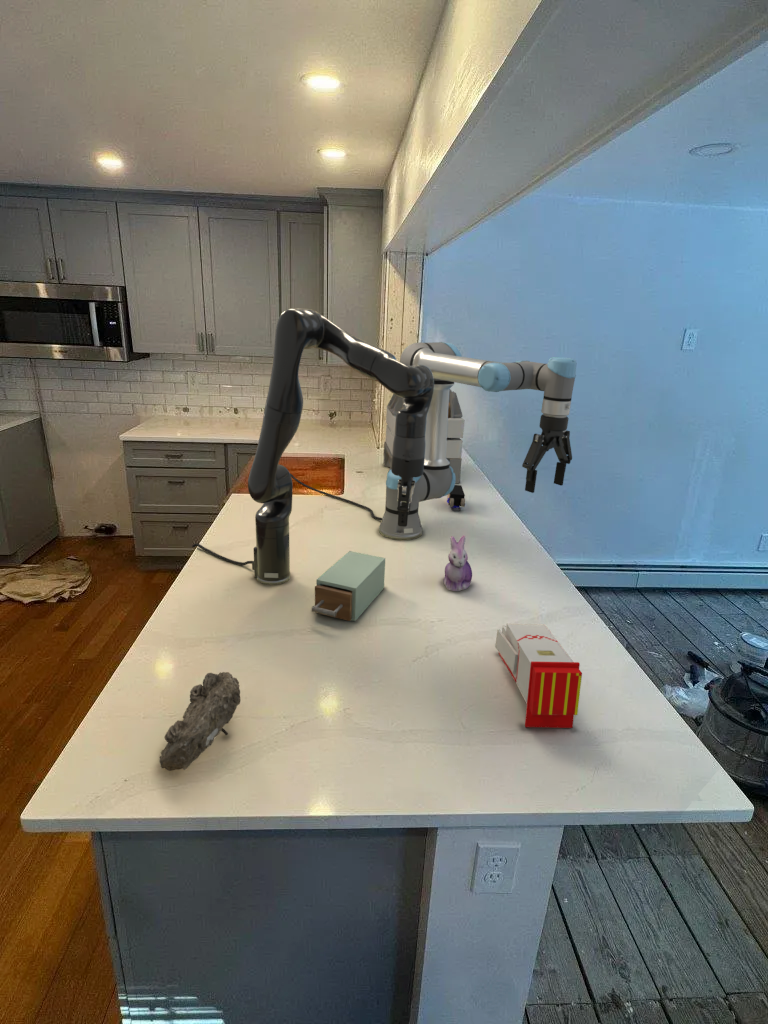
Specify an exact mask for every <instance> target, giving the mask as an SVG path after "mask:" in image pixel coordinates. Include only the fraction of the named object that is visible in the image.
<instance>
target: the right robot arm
mask: <svg viewBox="0 0 768 1024" xmlns="http://www.w3.org/2000/svg"><path fill="white" fill-rule="evenodd" d="M399 362H401V363H403V364H405V365H408V366H412V365H425V366H427V367H428V368H429V369H430V370H431V372H432V374H433V377H434V391H433V396H432V400H431V403H430V407H429V410H428V413H427V418H426V433H425V444H426V446H425V459H424V471H423V475H421V476H419V477H413V480H415V487H414V494H413V495H412V502H411V505H410V513H409V514H408V522H407V526H406V527H404V526H398V513H399V511H397V510H398V509H397V507H398V501H397V495H398V489H397V485H398V482H399V479H401V477H400V476H396V475H394V474H393V473H392V471H391V470H390V469H389V470H388V472H387V475H386V479H385V504H384V505H385V507H384V508H385V509H384V513H383V515H382V517H380V516H376V515H375V514H374V511H373V509H371V508H370V507H368V506H366V505H364V504H360V503H358V502H355V501H352V500H349V499H347V498H345V497H342V496H341V497H340V496H338V495H335V494H331V493H329V492H325V491H323V490H319V489H317V488H316V487H315V488H314V487H312V486H309V485H308V484H305V483H304V482H302V481H301V480H299V479H297V478H296V477H295V476H294V475H293V474H292V473H290V475H291V478H292V480H294V481H295V482H297V483H298V484H300V485H302V486H303V487H305V488H306V489H309V490H311V491H314V492H315V493H316V492H317V493H319V494H321V495H324V496H327V497H331V498H334V499H336V500H340V501H342V502H345V503H348V504H352V505H354V506H356V507H359V508H362V509H365V510H367V511H369V512H370V515H371V517H372V518H373V519H375V520H377V521H381V522H379V525H378V533H379V534H380V535H381V536H382V537H385V538H387V539H389V540H395V541H410V540H415V539H418V538H420V537H421V536H422V535H423V525H422V524H421V518H420V515H419V507H420V506H419V505H420V503H421V502H425V501H430V500H435V499H441V498H443V497H447V495H448V494H449V493H450V492H451V491H452V490H453V488H454V486H455V485H456V483H455V481H456V477H455V473H453V471H454V470H453V469H452V467H451V466H450V462H449V461H448V460H447V459H446V443H447V425H448V407H449V389H450V390H451V389H452V387H453V386H455V383H457V384H461V385H467V386H472V387H478V388H482V390H483V391H485V392H492V393H498V392H506V391H519V390H520V391H522V390H533V391H541V392H543V397H542V398H543V399H542V403H541V404H542V405H541V410H540V411H541V412H540V413H542V414H541V415H540V420H539V428H540V429H541V433H540V434H539V433H534V434H533V436H532V441H531V444H530V446H529V448H528V451H527V452H526V455H525V457H524V460H523V462H522V465H521V467H522V468H524V469H526V475H525V486H524V491H525V492H528V493H531V494H534V493H535V490H536V483H537V475H538V469H537V468H538V466H539V464H540V463H541V462H542V460H543V458H544V456H545V455H546V453H547V452H549V451H550V450H552V449H553V450H554V453H555V455H556V457H557V459H558V461H557V462H556V466H555V471H554V479H553V484H556V485H558V486H562V487H563V486H564V480H565V473H566V469H567V465H570V464H571V461H572V459H573V453H572V446H571V439H570V436H571V431H570V430H568V425H569V420H570V419H569V417H568V416H570V412H571V404H572V396H573V390H574V386H575V381H576V377H577V360H576V359H575V358H572V357H571V358H570V357H559V356H553V357H550V358H549V359H548V362H547V363H543V362H536V361H530V360H515V361H513V362H502V361H501V362H500V361H494V360H487V359H478V358H473V357H466V356H462V353H461V351H460V350H459V349H458V347H457V346H456V345H455V344H454V343H451V342H445V341H444V342H442V341H439V342H438V341H436V342H422V341H421V342H420V341H419V342H413V343H411V344H409V345H407V346H406V347H405V348H404V349H403V351H402V352H401V354H400V358H399ZM401 504H402V502H401Z"/></svg>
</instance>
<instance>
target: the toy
mask: <svg viewBox="0 0 768 1024" xmlns="http://www.w3.org/2000/svg"><path fill="white" fill-rule="evenodd" d="M551 631H552V630H551V629H550V628H548V627H547V625H546V624H545V623H506V625H502V628H501V629H500V628H499V629H497V630H496V636H495V637H496V638H495V644H494V647H495V649H496V651H497V652H498V655H499V657H500V659H501V661H502V662H503V664H504V666H505V667H506V669H507V670H508V672H509V674H510V676H511V677H512V679H513V680H514V682H515V683H516V686H517V688H518V690H519V693H520V694H521V695H522V698H523V700H524V702H525V704H526V708H525V709H526V710H525V721H524V727H525V728H552V729H553V728H555V729H556V728H557V729H562V728H563V729H573V726H574V719H575V716H578V712H579V703H580V695H581V687H582V677H583V672H582V670H580V667H581V665H580V662H578V661H573V659H572V657H570V656H569V655H570V654H568V653H567V651H566V650H565V649H564V647H563V646H562V645H561V644H560V641H558V639H557V638H556V637H555V636H554V634H553V633H552V632H551Z"/></svg>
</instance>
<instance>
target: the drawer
mask: <svg viewBox="0 0 768 1024" xmlns="http://www.w3.org/2000/svg"><path fill="white" fill-rule="evenodd" d="M311 612H312V613H315V614H319V615H323V616H327V617H331V618H336V619H339V620H344V621H348V622H351V619H352V591H350V590H346V589H342V588H337V587H333V586H328V585H324V584H323V586H320V585H317V584H316V585H315V586H314V605H313V606H311Z"/></svg>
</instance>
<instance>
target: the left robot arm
mask: <svg viewBox="0 0 768 1024" xmlns="http://www.w3.org/2000/svg"><path fill="white" fill-rule="evenodd" d="M277 319H278V320H277V321H276V322H277V323H276V327H275V336H274V347H273V359H272V368H271V374H270V380H269V385H268V390H267V395H266V396H267V397H266V400H265V404H264V411H263V416H262V417H263V418H262V424H261V428H260V433H259V437H258V443H257V447H256V450H255V455H254V458H253V461H252V465H251V468H250V470H249V475H248V478H247V489H248V490H247V491H248V493H249V496H250V497H251V499H252V500H253V501H254V502H256V503H258V504H262V505H261V507H259V508H258V510H257V511H256V512H255V515H254V516H255V517H254V518H255V519H254V521H255V544H256V545H255V546H254V547H253V560H247V561H244V562H241V561H236V560H233V559H230V558H228V557H225V556H222V555H220V554H218V553H216V552H214V551H213V550H211V549H208V548H206V547H205V546H203V545H202V544H200V543H198V542H197V543H196V542H195V543H193V544H192V545H191V547H192V548H195V547H198V548H200V549H202V550H203V551H204V552H207V553H208V554H211V555H212V556H214V557H216V558H219V559H221V560H223V561H226V562H228V563H231V564H234V565H238V566H246V565H251V569H252V570H253V571H254V572H253V573H254V574H253V575H254V579H255V580H256V579H257V581H258V582H259V583H261V584H263V585H270V586H275V585H276V586H277V585H282V584H285V583H286V582H288V581H289V580H290V579H291V560H290V558H291V554H290V552H291V551H290V517H291V514H292V511H293V493H294V492H293V490H294V489H293V488H294V487H293V486H294V485H293V478H292V477H291V475H290V474H291V473H290V470H288V468H287V467H286V466H285V465H283V464H279V463H280V461H281V458H282V456H283V454H284V452H285V451H286V449H287V448H288V446H289V445H290V443H291V441H292V440H293V439H294V437H295V435H296V433H297V432H298V429H299V427H300V423H301V419H302V413H303V408H304V396H303V391H302V386H301V383H300V378H299V377H300V376H299V371H300V365H301V360H302V355H303V352H304V350H308V349H313V348H314V349H317V350H322V351H325V352H328V353H331V354H333V355H334V356H336V357H338V358H339V359H340V360H341V361H343V362H344V363H345V364H346V366H348V367H349V368H351V369H352V370H354V371H355V372H357V373H358V374H361V375H362V376H364V377H366V378H369V379H370V380H373V381H375V382H377V383H378V384H380V385H381V386H382V387H384V388H385V389H386V390H388V391H389V392H390V393H392V395H393V394H395V395H397V396H399V397H401V398H404V402H403V406H402V407H401V408H400V409H399V410H398V412H397V414H396V421H395V436H394V441H393V452H392V468H391V471H392V473H393V474H394V475H396V476H400V477H401V479H399V482H398V485H397V489H398V495H397V501H398V507H397V509H398V510H397V511H399V513H398V526H404V527H406V526H407V522H408V514H409V513H410V505H411V502H412V495H413V494H414V487H415V480H413V477H419V476H421V475H423V471H424V459H425V446H426V444H425V433H426V418H427V413H428V410H429V407H430V403H431V400H432V396H433V391H434V377H433V374H432V372H431V370H430V369H429V368H428V367H427V366H425V365H412V366H408V365H405V364H403V363H401V362H400V360H399V361H398V360H397V358H396V356H395V355H394V354H392V353H391V352H390V351H387V350H386V349H383V348H381V347H379V346H377V345H375V344H372V343H370V342H368V341H365V340H363V339H361V338H359V337H357V336H355V335H353V334H351V333H350V332H348V331H347V330H345V329H343V328H341V327H340V326H339V325H337V324H335V323H334V322H332V321H331V320H330V319H328V318H327V317H326V316H324V315H323V314H321V313H320V312H318V311H317V310H315V309H311V308H306V307H305V308H304V307H303V308H300V307H297V308H295V307H293V308H292V307H291V308H288V309H285V310H283V312H281V313H280V315H279V317H278V318H277ZM401 502H402V504H401Z"/></svg>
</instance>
